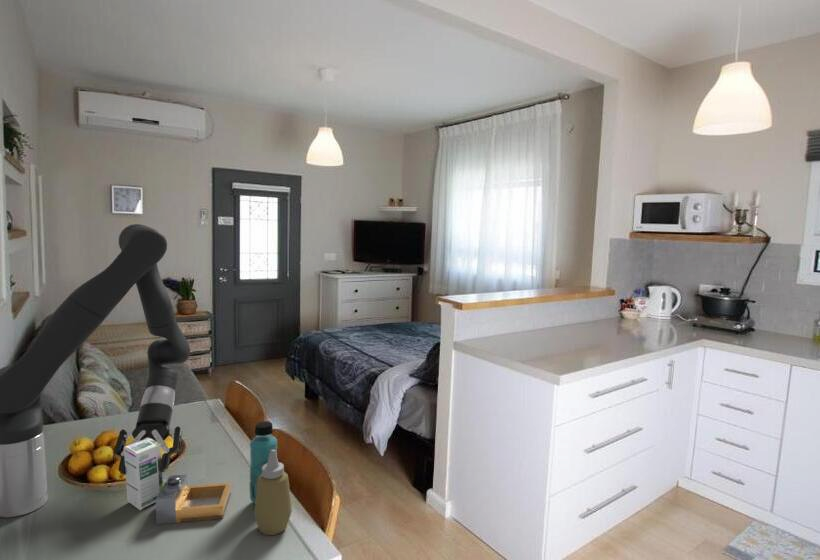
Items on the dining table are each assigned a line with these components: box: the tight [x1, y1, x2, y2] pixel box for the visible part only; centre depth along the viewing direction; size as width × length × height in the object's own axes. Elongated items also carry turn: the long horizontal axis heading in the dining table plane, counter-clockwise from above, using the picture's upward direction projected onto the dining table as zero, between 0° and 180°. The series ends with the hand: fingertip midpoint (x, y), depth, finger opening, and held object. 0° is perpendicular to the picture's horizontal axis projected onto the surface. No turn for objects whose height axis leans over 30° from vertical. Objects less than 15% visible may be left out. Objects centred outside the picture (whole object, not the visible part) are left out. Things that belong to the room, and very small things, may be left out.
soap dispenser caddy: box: [155, 473, 232, 525], centre depth 110 cm, size 14×10×7 cm
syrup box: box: [124, 437, 164, 511], centre depth 112 cm, size 6×6×14 cm
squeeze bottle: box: [253, 450, 293, 536], centre depth 104 cm, size 8×8×18 cm
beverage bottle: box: [249, 420, 278, 504], centre depth 113 cm, size 6×7×20 cm
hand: (142, 472), depth 111 cm, fingers closed on syrup box, 8 cm apart
